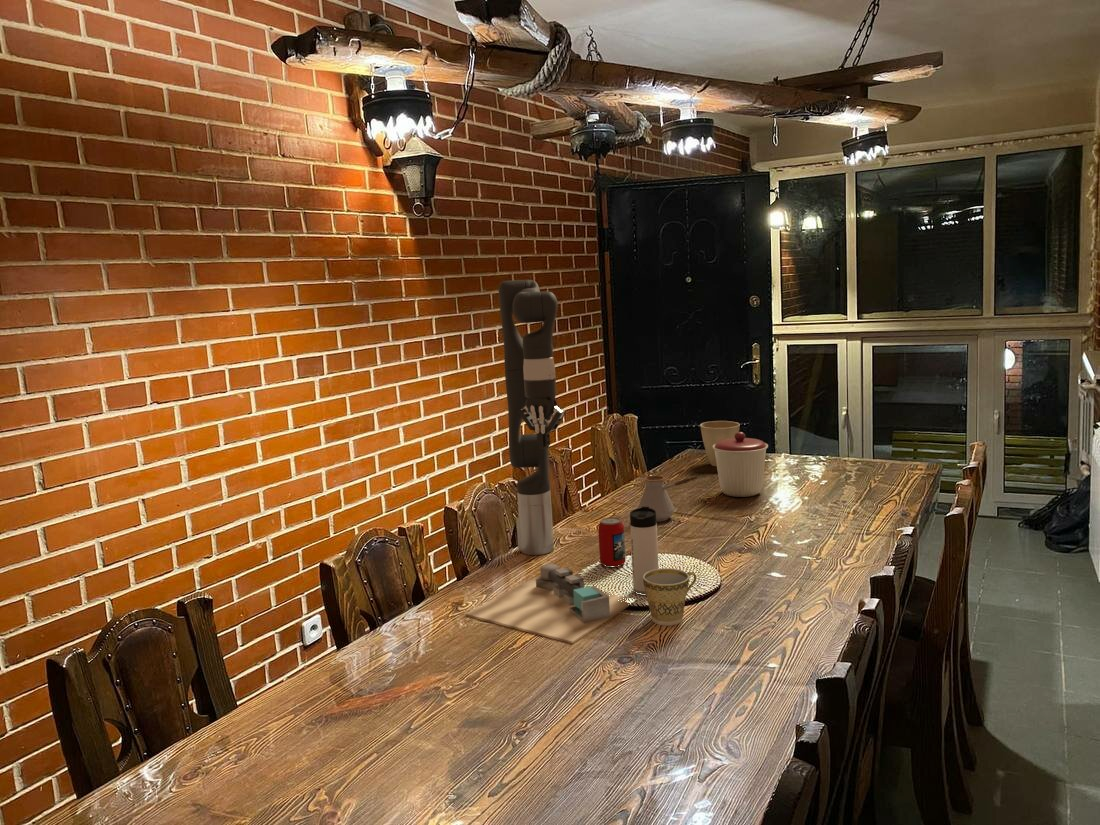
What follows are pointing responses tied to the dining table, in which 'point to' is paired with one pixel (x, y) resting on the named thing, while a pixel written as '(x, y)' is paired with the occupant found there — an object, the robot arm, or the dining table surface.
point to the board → (541, 611)
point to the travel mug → (643, 545)
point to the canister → (740, 465)
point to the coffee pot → (659, 496)
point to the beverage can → (611, 542)
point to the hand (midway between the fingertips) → (544, 448)
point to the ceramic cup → (667, 594)
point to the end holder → (593, 608)
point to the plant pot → (717, 435)
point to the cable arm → (568, 585)
